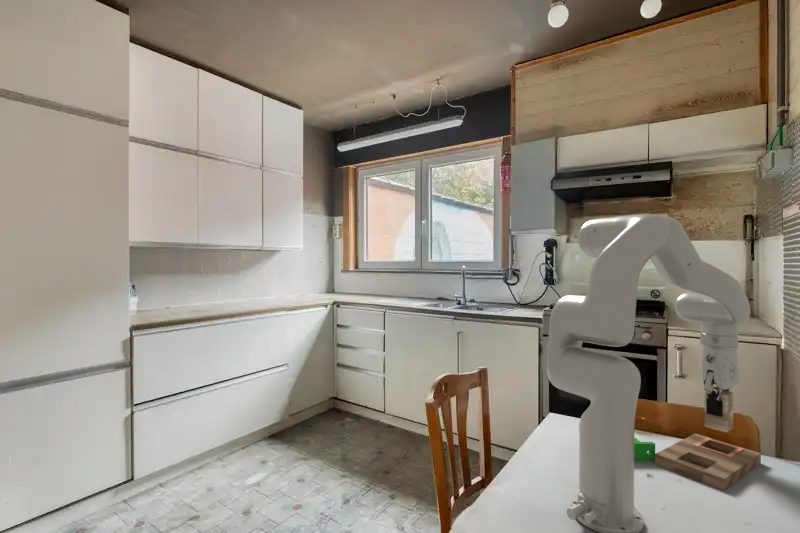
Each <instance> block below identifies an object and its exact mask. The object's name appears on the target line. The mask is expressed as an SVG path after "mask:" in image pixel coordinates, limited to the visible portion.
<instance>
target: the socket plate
mask: <svg viewBox="0 0 800 533" xmlns="http://www.w3.org/2000/svg"><path fill="white" fill-rule="evenodd" d="M761 460H762V453H761V452H758V451H755V450H751V449H749V448H745V447H741V446H738V445H735V444H732V443H728V442H725V441H722V440H719V439H714V438H711V437H709V436H706V435H702V434H699V433H693V434H691V435H689V436H687V437H685V438H684V439H681V440H679V441H678V442H676V443H673V444H671V445H670V446H668V447H666V448H664V449H662V450H660V451H658V452H655V461H654V464H655V465H656V466H659V467H660V468H661V467H662V468H664V469H667V470H669V471H672V472H675V473H677V474H680V475H683V476H685V477H688V478H690V479H693V480H696V481H698V482H701V483H703V484H706V485H709V486H711V487H714V488H717V489H719V490H722V491H726V490H727V489H729V488H730V487H731V486H733V485H734V484H736V483H737V482H738V481H740V480H741V479H742V478H744V477H745V476H746V475H747V474H749V473H750V472H751V471H753V470H754V469H755V468H757V467H758V466H759V465H761V464H760V463H762V461H761ZM757 465H758V466H757ZM756 466H757V467H756ZM752 469H753V470H752Z"/></svg>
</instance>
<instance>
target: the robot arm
mask: <svg viewBox="0 0 800 533" xmlns="http://www.w3.org/2000/svg"><path fill="white" fill-rule="evenodd" d="M577 237H578V238H577V241H578V245H579V247H580V249H581V251H582V252H583V253H584V254H585V255H587V256H589V257H591V258H596V259H595V260H594V262H593V264H592V265H591V269H590V272H589V280H588V287H587V289H588V290H587V294H586V295H582V294H568V295H564V296H562V297H560V298H559V299H558V300H557V301H556V303H555V304H554V306H553V308H552V310H551V314H550V317H549V326H548V338H547V339H548V340H547V355H546V374H547V377H548V379H549V382H550V384H552V386H553V387H555V388H557V389H558V390H561V391H564V392H566V393H570V394H573V395H575V396H579V397H582V398H584V399H587V400H589V401H590V405H589V406H588V407H587V409H586V410H585V411H584V412H583V413H582V415H581V416H580V419H579V426H578V429H579V430H578V431H579V432H578V433H579V435H578V437H579V439H578V440H579V442H578V443H579V444H578V445H579V448H578V449H579V450H578V452H579V454H578V455H579V457H578V459H579V461H578V462H579V465H578V466H579V469H578V471H579V472H578V473H579V476H578V477H579V478H578V479H579V482H578V483H579V484H578V486H579V487H578V493H577V495H575V496H574V497H573V498H571V500H570V506H569V507H568V508H567V509H566V515H567V517H568V518H569V519H570V520H573V521H575V520H577V521H579V522H580V523H581V524H582V525H584V527H585V526H586V527H587V528H589V529H590V530H593V531H596V532H598V533H640V532H642V530H643V529H644V525H645V524H644V518H643V515H642V513H641V512H640V511H639V510H638V509H637V508H636V507H635V461H634V437H635V420H636V411H637V403H638V399H639V395H640V394H639V393H640V391H641V384H642V379H641V378H642V377H641V373H640V370H639V368H638V367H637V366H636V365H635V363H633V362H632V361H631V360H630V359H627V358H626V357H623V356H621V355H618V354H614V353H611V352H605V351H600V350H599V351H598V350H595V349H588V348H582V346H583V343H589V344H595V345H599V346H607V347H612V348H613V347H615V348H616V347H617V348H619V347H625V346H627V345H629V343H630V342H631V341H632V339H633V338H634V333H635V324H636V311H637V310H636V309H637V298H638V297H637V296H638V286H639V278H640V275H641V272H642V270H643V268H644V267H645V265H646V264H647V263H648V261H649V260H650V261H651V263H652V264H653V265H654V268H655V269H656V271H657V272H658V273H659V275H660V277H661V278H662V280H663V281H664V282H666V283H668V284H670V285H671V286H675V287H676V288H680V289H683V290H686V291H688V292H685V293H682V294H680V295H679V296H678V297H676V298H677V299H676V300H675V302H674V310H675V313H676V316H678V318H680V319H681V320H682V321H685V322H689V323H697V324H700V333H699V334H700V346H701V347H702V359H701V383H702V385H703V390H704V393H705V392H706V398H707V409H706V412H707V414H711V415H714V416H718V417H722V416H723V401H721V392H722V390H723V391H728V392H732V388H733V387H734V386H736V385H738V384H739V383H740V377H739V375H740V373H739V358H738V357H739V356H738V351H737V350H739V327H741V326H743V325H745V324H746V323H748V321H749V319H750V317H751V304H750V301H749V298H748V297H747V295H746V293H745V291H744V288H743V287H742V286H741V284H740V283H739V281H738V280H737V279H736V278H735V277H733V276H732V275H730V274H729V273H727V272H725V271H723V270H722V269H720V268H718V267H716V266H714V265H712V264H710V263H708V262H706V261H704V260H702V259H701V257H700V255H699V253H698V251H697V250H696V248H695V246H694V245H693V243H692V241H691V239H690V237H689V235H688V234H687V232H686V230H685V228H684V226H683V225H682V223H681V222H680V221H679V220H678V219H677V218H675V217H671V216H665V215H663V216H662V215H659V214H655V213H653V214H652V213H641V214H640V213H638V214H628V215H619V216H610V217H601V218H594V219H593V218H592V219H590V220H588V221H586V222H584V224H583V225H582V226H581V227H580V228H579V232H578V236H577ZM714 385H715V386H714ZM713 389H715V390H717V393H716V391H714V390H713Z"/></svg>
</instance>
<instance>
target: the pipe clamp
mask: <svg viewBox="0 0 800 533" xmlns="http://www.w3.org/2000/svg"><path fill="white" fill-rule="evenodd" d="M655 454H656V443H655V442H653V441H640V440H639V439H638V438H636V437H635V436H634V462H655Z"/></svg>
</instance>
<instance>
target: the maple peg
mask: <svg viewBox="0 0 800 533" xmlns="http://www.w3.org/2000/svg"><path fill="white" fill-rule="evenodd" d="M713 390H714V391H716V393H717V390H715V389H713ZM721 401H723V416H722V417H718V416H714V415H711V414H707V412H706V409H707V398H706V392H705V391H704V427H706V428H709V429H712V430H716V431H718V432H723V433H728V432H730V431H732V430H733V429H734V392H733V391H731V392H728V391H723V390H722V392H721Z"/></svg>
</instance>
